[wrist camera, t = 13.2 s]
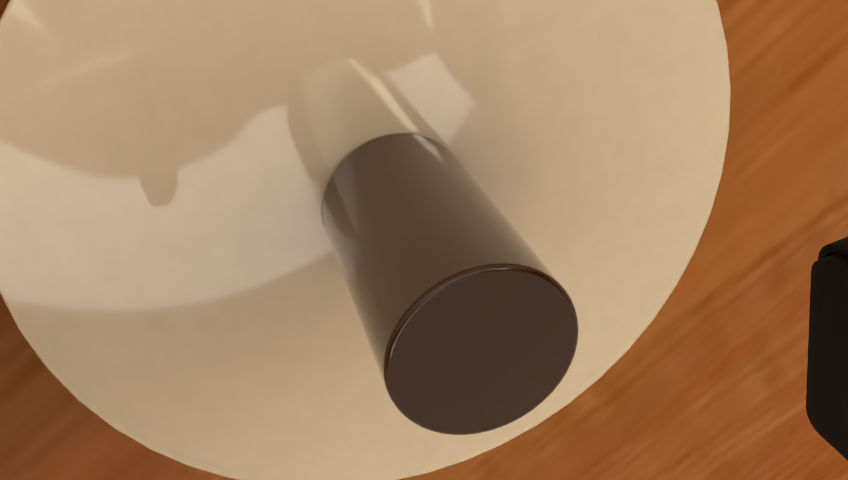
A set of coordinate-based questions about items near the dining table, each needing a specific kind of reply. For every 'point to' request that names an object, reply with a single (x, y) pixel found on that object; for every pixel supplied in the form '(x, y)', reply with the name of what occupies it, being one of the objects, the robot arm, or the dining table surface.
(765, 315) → the dining table surface
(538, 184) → the lid
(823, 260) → the robot arm
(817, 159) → the dining table surface
